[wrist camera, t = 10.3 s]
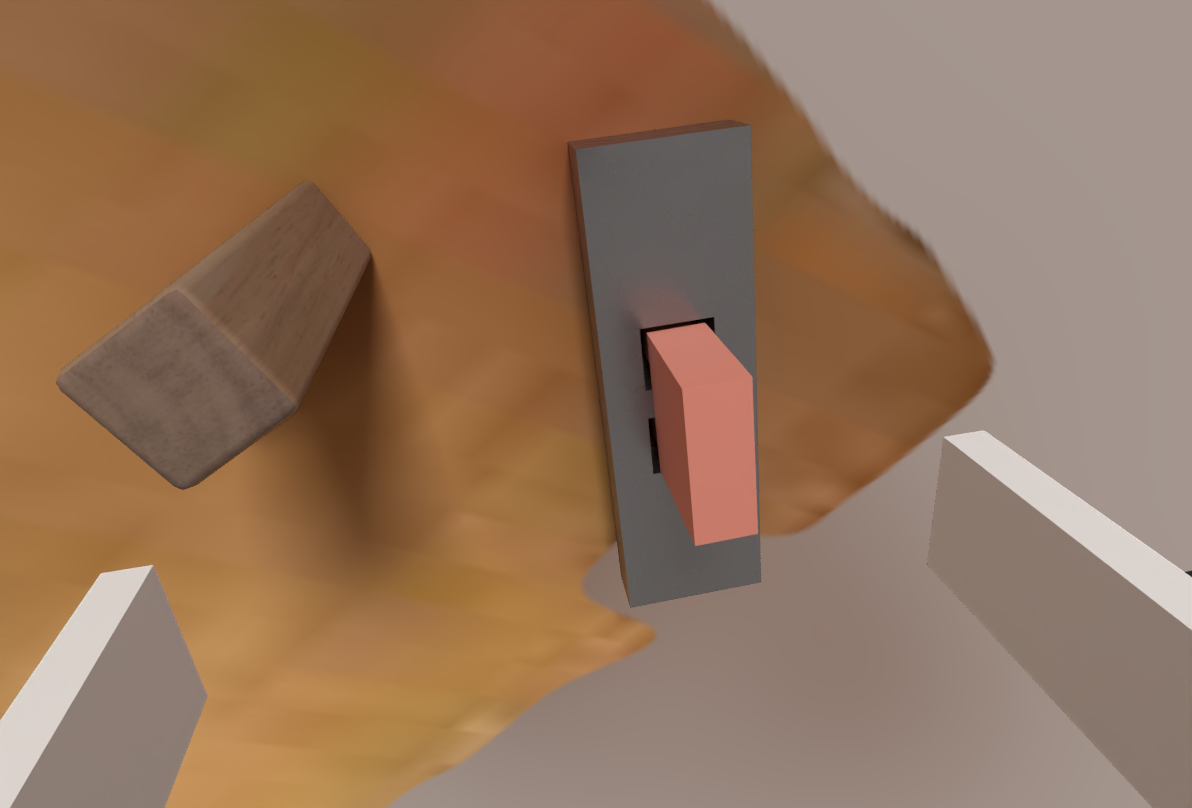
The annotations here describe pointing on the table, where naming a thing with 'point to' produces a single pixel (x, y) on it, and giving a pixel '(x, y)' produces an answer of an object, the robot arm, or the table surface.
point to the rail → (664, 323)
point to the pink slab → (703, 430)
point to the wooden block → (225, 341)
